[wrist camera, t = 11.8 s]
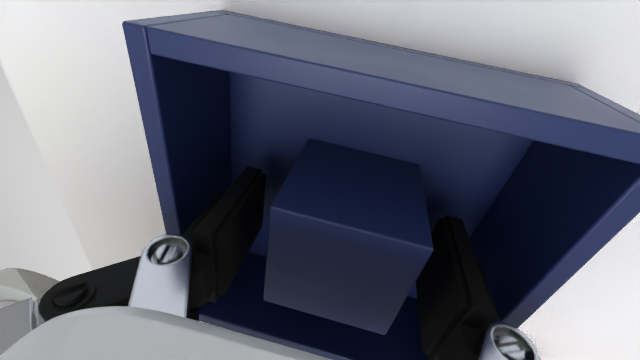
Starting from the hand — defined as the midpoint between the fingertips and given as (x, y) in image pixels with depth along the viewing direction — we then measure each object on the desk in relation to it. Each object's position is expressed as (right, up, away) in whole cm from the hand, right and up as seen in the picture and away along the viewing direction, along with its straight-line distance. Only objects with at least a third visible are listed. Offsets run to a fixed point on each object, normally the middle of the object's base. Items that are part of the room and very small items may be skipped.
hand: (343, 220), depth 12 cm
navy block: (0, +1, +1) cm, 1 cm away
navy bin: (0, +1, +1) cm, 2 cm away
